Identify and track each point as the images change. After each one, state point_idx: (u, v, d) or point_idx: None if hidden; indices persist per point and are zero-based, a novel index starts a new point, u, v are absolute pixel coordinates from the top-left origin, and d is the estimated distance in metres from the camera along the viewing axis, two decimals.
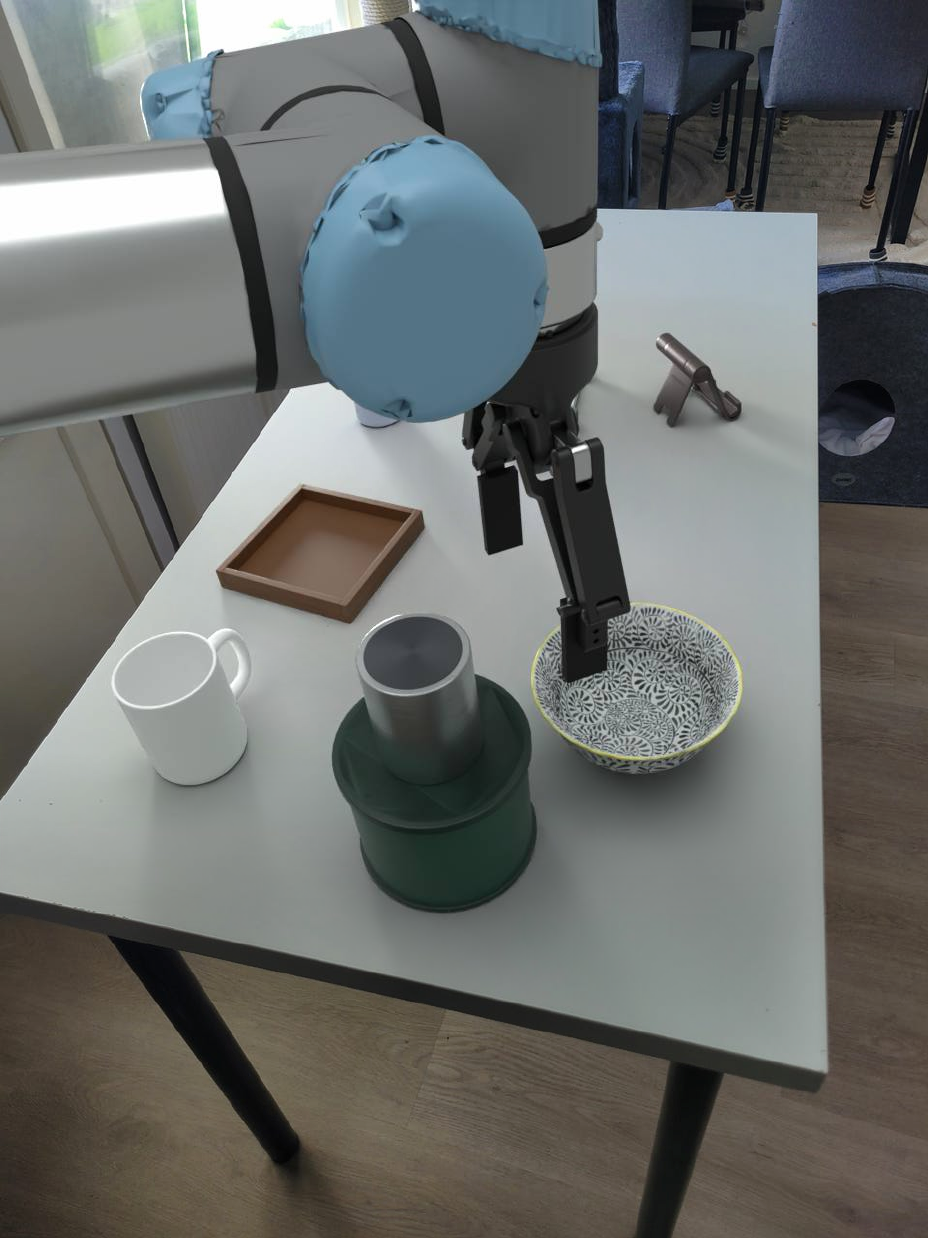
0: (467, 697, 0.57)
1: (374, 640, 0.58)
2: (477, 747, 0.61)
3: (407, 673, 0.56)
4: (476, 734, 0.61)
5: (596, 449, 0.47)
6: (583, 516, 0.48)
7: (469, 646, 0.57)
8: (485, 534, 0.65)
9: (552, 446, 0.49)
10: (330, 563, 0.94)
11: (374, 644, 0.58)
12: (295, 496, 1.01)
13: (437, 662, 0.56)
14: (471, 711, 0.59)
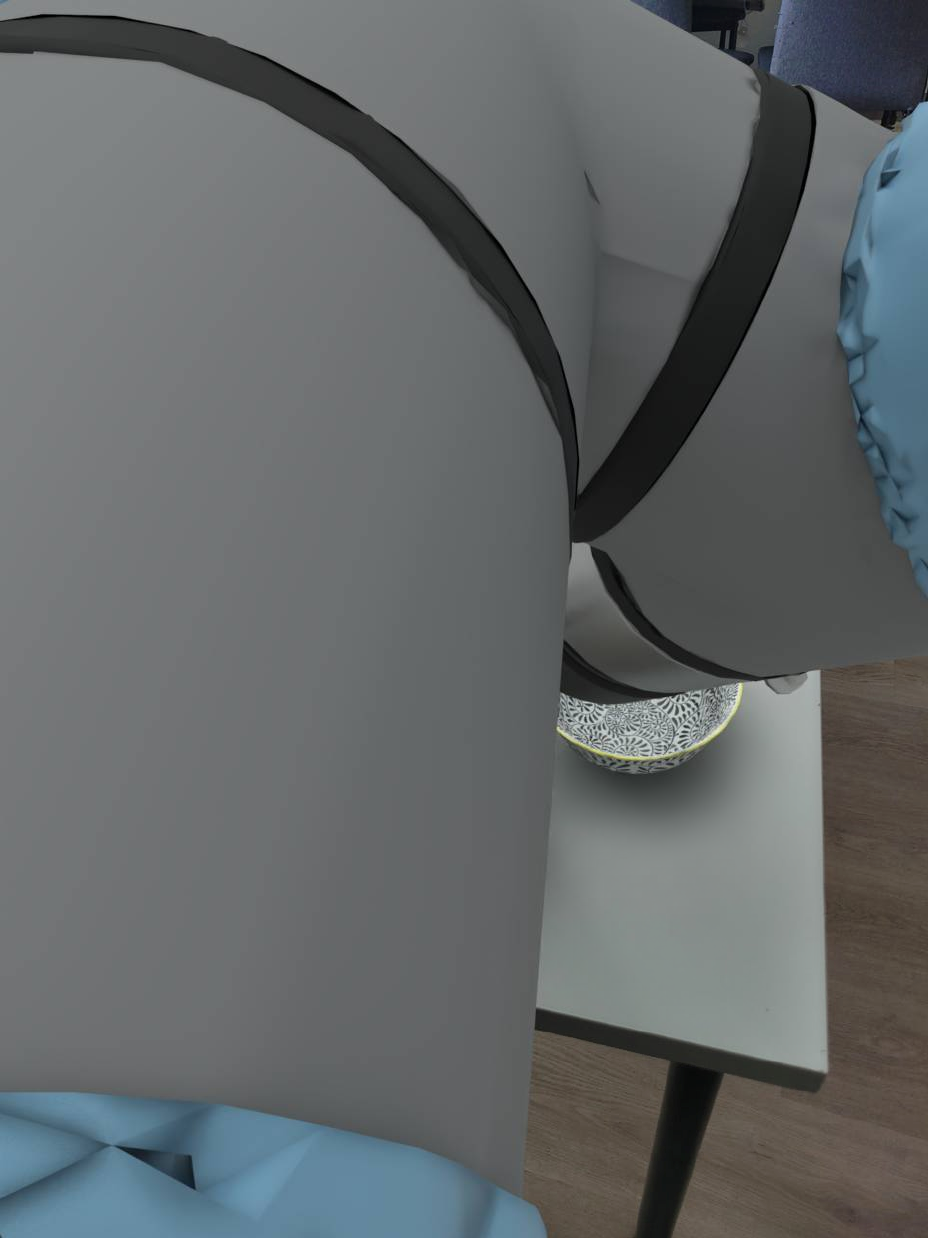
0: None
1: None
2: None
3: None
4: None
5: None
6: None
7: None
8: None
9: None
10: None
11: None
12: None
13: None
14: None
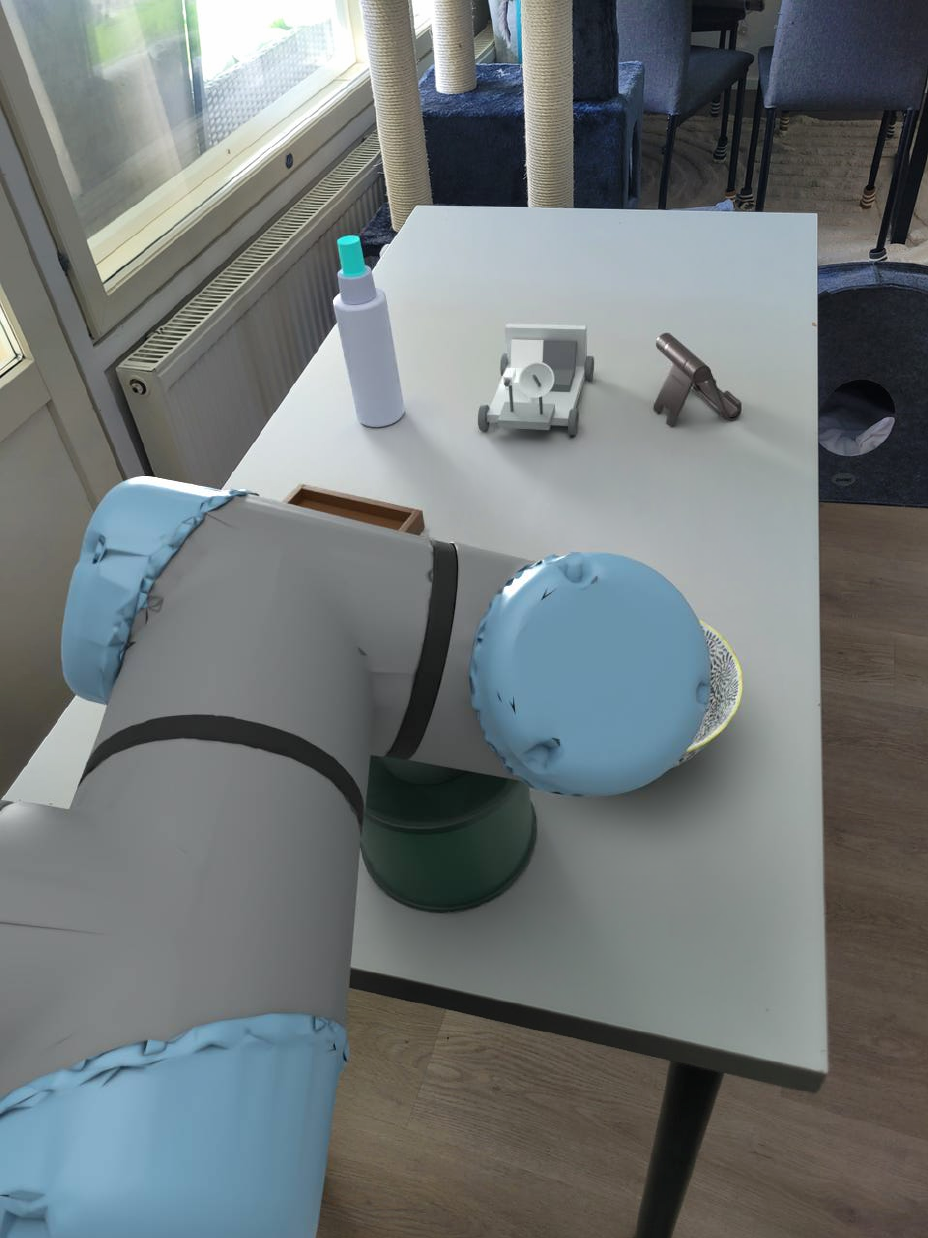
0: None
1: None
2: None
3: None
4: None
5: None
6: None
7: None
8: None
9: None
10: None
11: None
12: (295, 496, 1.01)
13: None
14: None
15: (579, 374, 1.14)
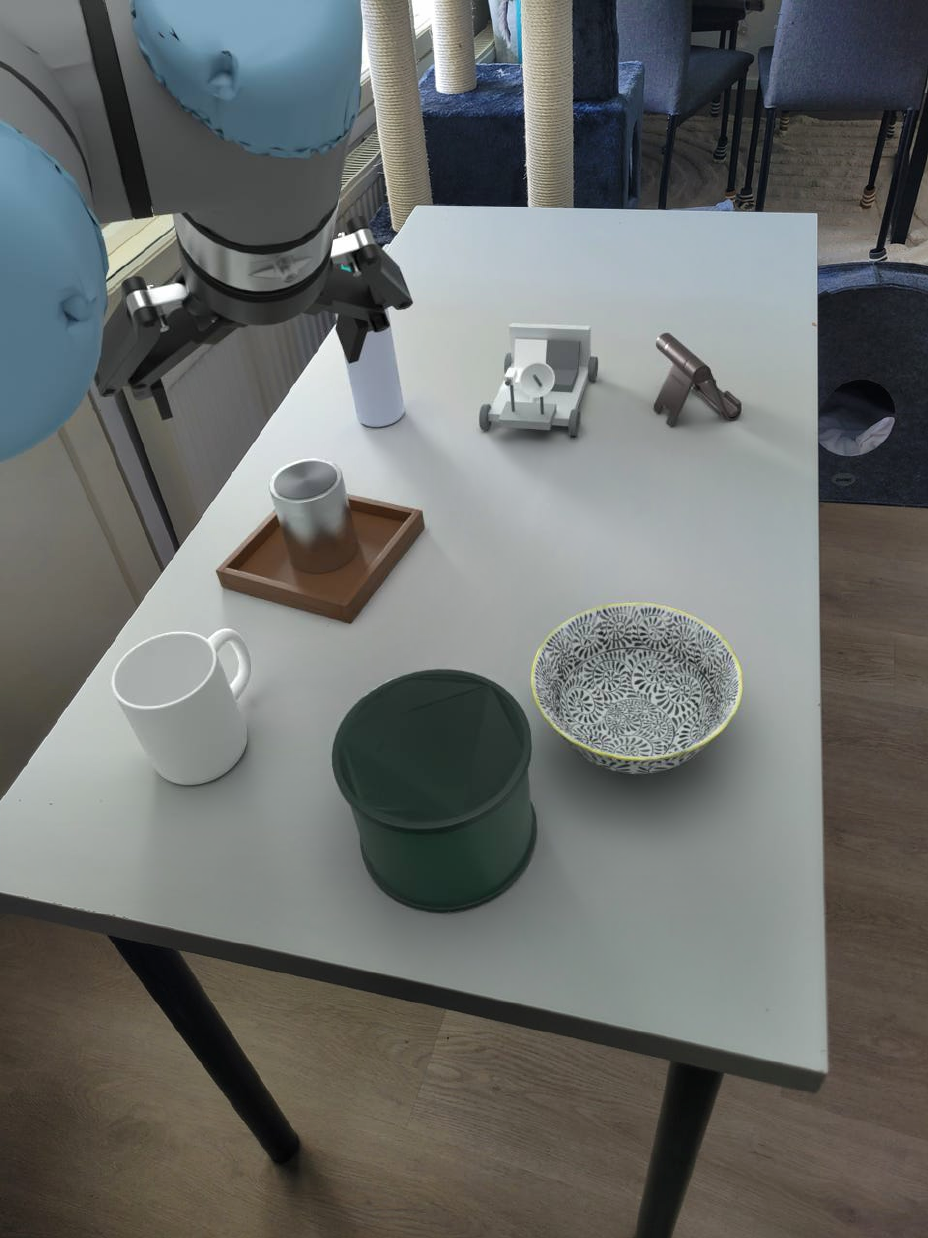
0: (340, 509, 0.90)
1: (282, 474, 0.91)
2: (352, 550, 0.94)
3: (300, 490, 0.88)
4: (351, 540, 0.93)
5: (136, 318, 0.48)
6: (119, 325, 0.50)
7: (341, 476, 0.90)
8: None
9: None
10: None
11: (281, 476, 0.91)
12: None
13: (320, 484, 0.89)
14: (344, 520, 0.91)
15: (582, 374, 1.14)
